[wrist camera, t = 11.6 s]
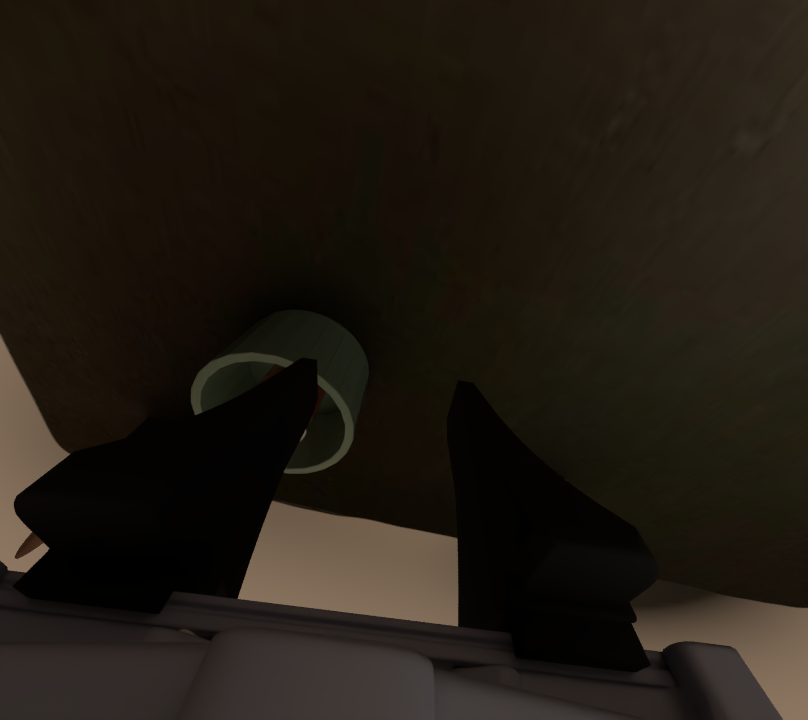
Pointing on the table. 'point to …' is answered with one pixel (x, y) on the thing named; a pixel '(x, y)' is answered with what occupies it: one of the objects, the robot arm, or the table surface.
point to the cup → (283, 345)
